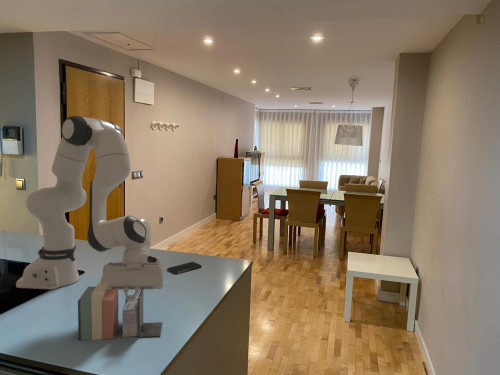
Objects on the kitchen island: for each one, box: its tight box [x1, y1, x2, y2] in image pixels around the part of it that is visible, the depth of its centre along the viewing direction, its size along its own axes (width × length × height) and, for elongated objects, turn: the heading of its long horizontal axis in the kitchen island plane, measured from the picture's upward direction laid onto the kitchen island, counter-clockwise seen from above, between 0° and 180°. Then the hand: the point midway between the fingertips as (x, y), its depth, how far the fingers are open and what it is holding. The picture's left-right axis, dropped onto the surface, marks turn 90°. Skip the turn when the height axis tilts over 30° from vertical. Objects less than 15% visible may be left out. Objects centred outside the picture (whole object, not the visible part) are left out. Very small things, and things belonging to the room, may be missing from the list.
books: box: [79, 282, 119, 341], centre depth 108 cm, size 9×8×14 cm
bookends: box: [77, 288, 163, 341], centre depth 109 cm, size 23×8×12 cm, turn 99°
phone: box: [166, 261, 203, 275], centre depth 166 cm, size 8×1×15 cm
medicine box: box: [121, 298, 138, 338], centre depth 110 cm, size 8×4×9 cm, turn 12°
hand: (130, 301), depth 116 cm, fingers closed
